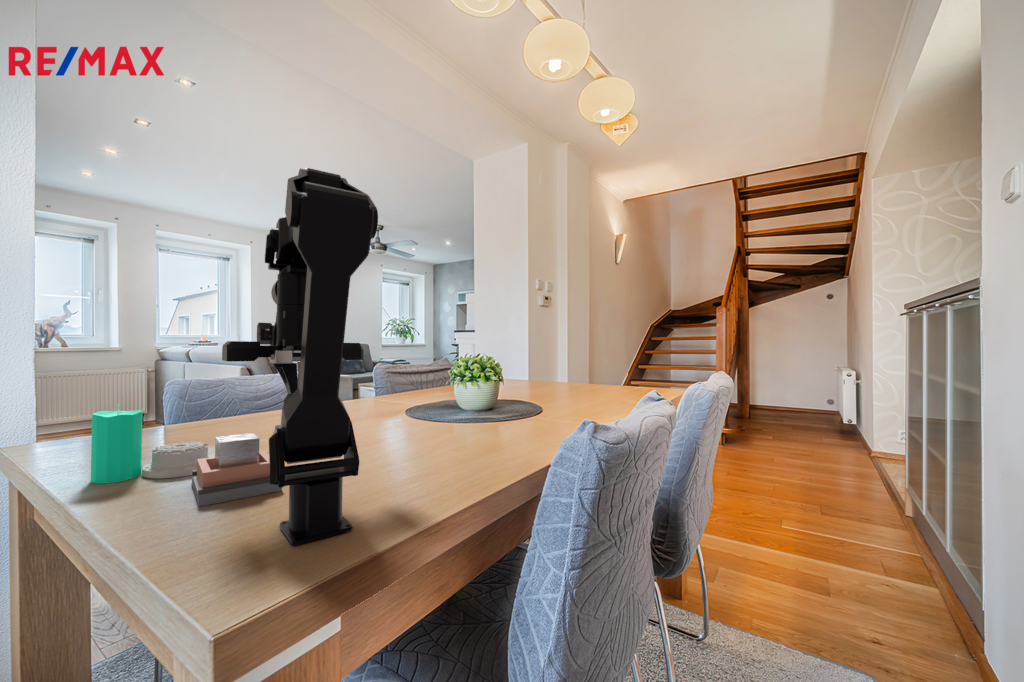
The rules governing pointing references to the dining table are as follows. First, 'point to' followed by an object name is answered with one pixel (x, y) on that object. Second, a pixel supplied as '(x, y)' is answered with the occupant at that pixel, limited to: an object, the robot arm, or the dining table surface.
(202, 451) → the mechanical component
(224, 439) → the block
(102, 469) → the candle
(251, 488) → the frame
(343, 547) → the dining table surface
